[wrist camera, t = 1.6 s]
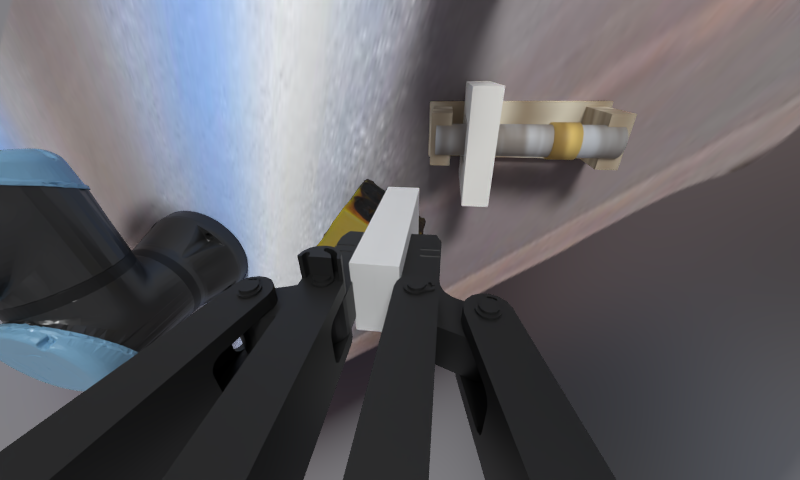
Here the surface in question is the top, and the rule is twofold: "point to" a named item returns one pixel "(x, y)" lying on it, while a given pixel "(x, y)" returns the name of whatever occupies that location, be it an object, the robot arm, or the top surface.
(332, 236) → the yellow cube with hole
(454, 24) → the top surface
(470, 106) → the upright white plank
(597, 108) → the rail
